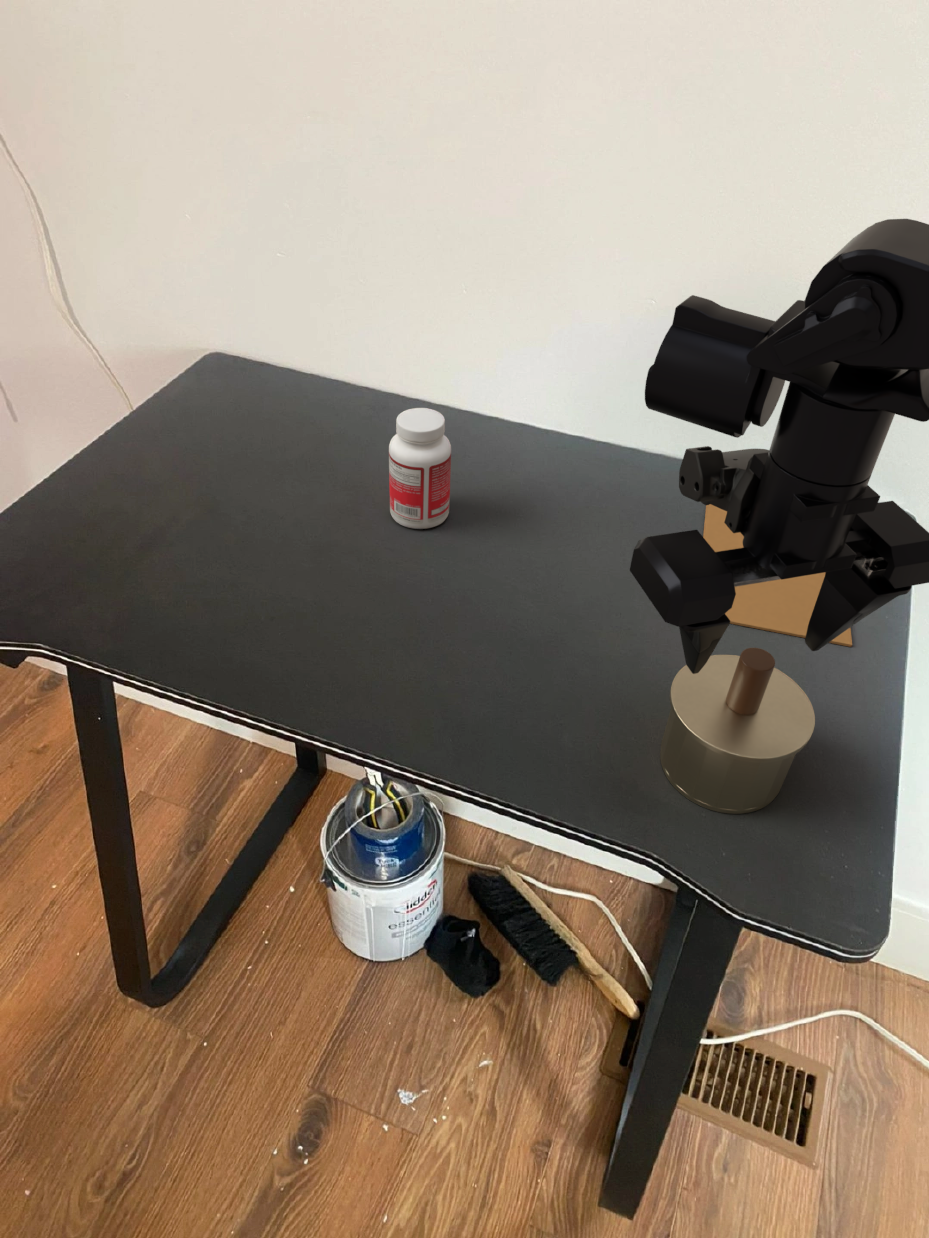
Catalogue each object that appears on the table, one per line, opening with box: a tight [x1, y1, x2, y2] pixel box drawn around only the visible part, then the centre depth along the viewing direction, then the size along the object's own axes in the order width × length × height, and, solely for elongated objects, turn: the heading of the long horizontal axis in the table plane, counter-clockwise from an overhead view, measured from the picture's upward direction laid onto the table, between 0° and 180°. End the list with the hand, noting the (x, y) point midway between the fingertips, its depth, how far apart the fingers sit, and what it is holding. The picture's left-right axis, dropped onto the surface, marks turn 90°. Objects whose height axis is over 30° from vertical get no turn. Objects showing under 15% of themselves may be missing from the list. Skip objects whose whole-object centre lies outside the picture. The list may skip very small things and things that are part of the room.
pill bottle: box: [388, 407, 452, 530], centre depth 92 cm, size 6×6×11 cm
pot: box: [659, 707, 797, 815], centre depth 70 cm, size 9×9×6 cm
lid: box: [669, 647, 816, 762], centre depth 66 cm, size 10×10×6 cm
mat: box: [702, 504, 853, 648], centre depth 92 cm, size 14×22×1 cm, turn 166°
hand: (752, 657), depth 63 cm, fingers open, 9 cm apart
